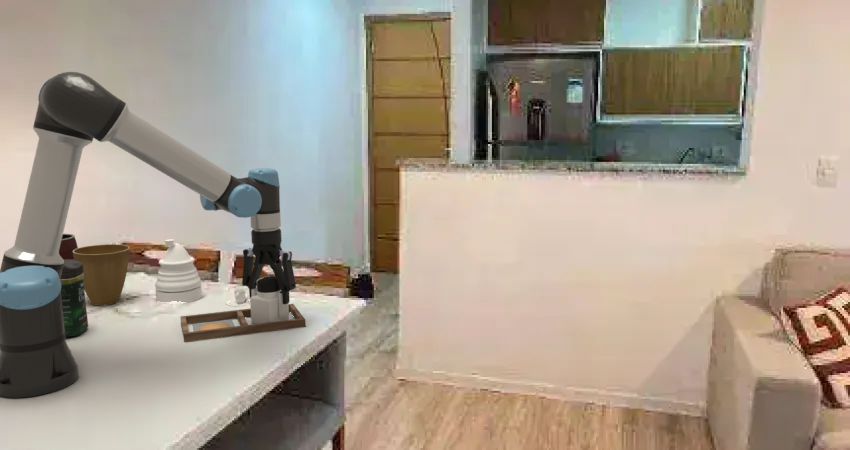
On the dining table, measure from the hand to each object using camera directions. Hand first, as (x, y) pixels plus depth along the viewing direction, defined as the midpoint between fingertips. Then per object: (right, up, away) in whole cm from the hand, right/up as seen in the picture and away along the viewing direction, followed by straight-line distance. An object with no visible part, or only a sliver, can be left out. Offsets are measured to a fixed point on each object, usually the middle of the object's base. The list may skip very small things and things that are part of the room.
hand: (270, 313), depth 176 cm
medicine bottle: (0, -2, 0) cm, 2 cm away
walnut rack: (-7, -3, -2) cm, 7 cm away
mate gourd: (-74, +3, +32) cm, 81 cm away
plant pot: (-53, +1, +19) cm, 56 cm away
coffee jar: (-49, -4, -8) cm, 49 cm away
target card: (-13, -3, -5) cm, 14 cm away
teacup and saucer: (-11, 0, +20) cm, 23 cm away
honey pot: (-33, +1, +23) cm, 40 cm away
